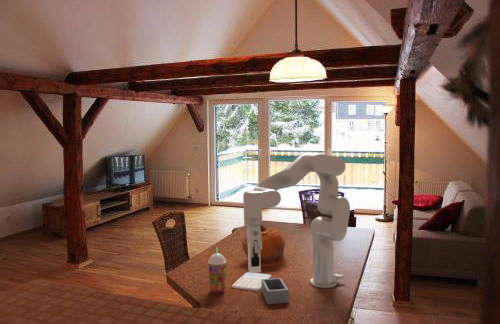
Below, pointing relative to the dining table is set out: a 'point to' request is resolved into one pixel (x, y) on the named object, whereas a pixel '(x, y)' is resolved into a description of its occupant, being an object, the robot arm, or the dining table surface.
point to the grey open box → (275, 291)
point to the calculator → (250, 281)
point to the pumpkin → (269, 247)
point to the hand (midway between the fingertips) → (254, 263)
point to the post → (251, 269)
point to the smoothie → (217, 272)
